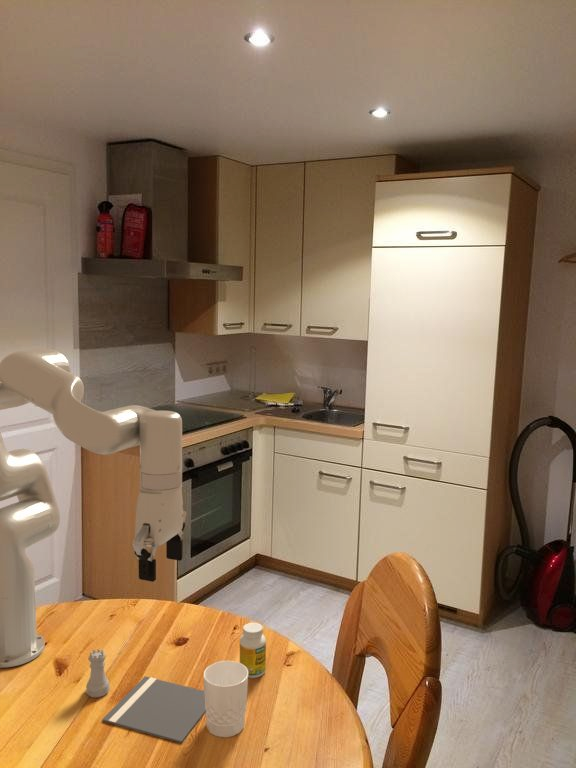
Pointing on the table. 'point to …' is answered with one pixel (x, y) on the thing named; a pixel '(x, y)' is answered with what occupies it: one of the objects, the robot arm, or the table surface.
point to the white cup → (225, 697)
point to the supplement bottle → (253, 649)
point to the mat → (159, 709)
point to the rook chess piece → (97, 675)
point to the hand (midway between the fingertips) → (161, 569)
